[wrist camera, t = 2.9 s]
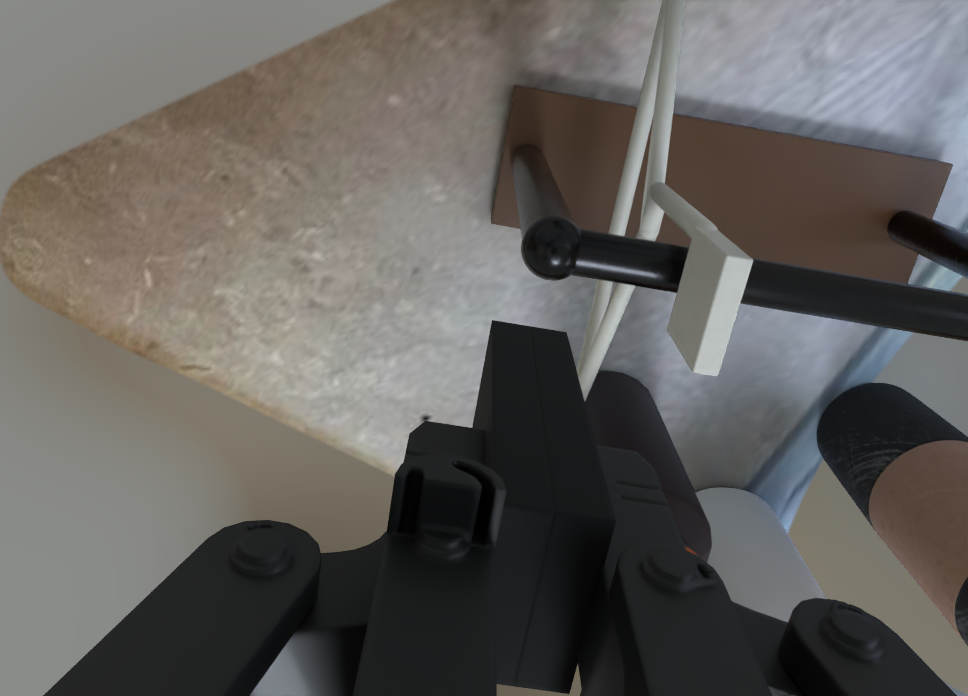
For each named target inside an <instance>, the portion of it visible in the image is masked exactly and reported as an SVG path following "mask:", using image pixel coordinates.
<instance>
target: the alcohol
mask: <svg viewBox="0 0 968 696" xmlns="http://www.w3.org/2000/svg"><path fill="white" fill-rule="evenodd" d="M695 493H696V495H697V498H698V500H699V502H700V504H701V506H702V509H703V511H704V513H705V515H706V518H707V520H708V522H709V524H710V528H711V539H712V548H711V551H710V555H709V558H708V562H707V563H708V564H709V565H710V566H712V567H713V568H714V569H715V571H716V572H717V573H718V575H719V576H720V578H721V579H722V581H723V582H724V585H725V587H726V589H727V592H728V594H729V596H730V599H731V601H733V602H735V603H737V604H740V605H742V606H744V607H747V608H749V609H751V610H754V611H757V612H760V613H763V614H765V615H768V616H771V617H774V618H777V619H779V620H782V621H785V622H788V621H789V619H790V616H791V613H792V611H793V609H794V608H795V607H796V606H797V605H798V604H799V603H800V602H801V601H803V600H808V599H813V598H822V599H826V597H825V596H824V594H823V592H822V591H821V589H820V587H819V586H818V584H817V582H816V581H815V579H814V577H813V576H812V574H811V572H810V571H809V569H808V568H807V566H806V564H805V562H804V561H803V559H802V557H801V556H800V554H799V552H798V550H797V549H796V547H795V545H794V544H793V542H792V541H791V539H790V537H789V535H788V534H787V532H786V530H785V529H784V527H783V525H782V524H781V522H780V520H779V519H778V517H777V515H776V514H775V512H774V511H773V509H772V508H771V507H770V506H769V504H768V503H766V502H765V501H764V500H763V499H761V498H760V497H758V496H756V495H754V494H752V493H750V492H748V491H744V490H741V489H735V488H725V487H717V488H708V489H704V490H700V491H698V492H695Z"/></svg>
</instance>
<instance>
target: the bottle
mask: <svg viewBox="0 0 968 696" xmlns="http://www.w3.org/2000/svg"><path fill="white" fill-rule="evenodd" d="M585 405H586V408H587V412H588V416H589V420H590V424H591V427H592V431H593V435H594V439H595V443H596V445H599V446H605V447H612V448H618V449H625V450H631V451H637V452H638V453H639V454H640V455H641V456H642V457H643V458H644V459H645V460H646V461H647V462H648V463H649V464H650V465H651V466H652V467H653V468H654V469H655V471H656V474H657V476H658V479H659V482H660V484H661V487H662V489H661V491H663V492H664V494H665V497H666V500H667V502H668V503H667V506H669V507H670V510H671V513H672V515H673V518H674V520H675V523H676V526H677V528H678V531H679V533H680V536H681V538H682V541H683V544H684V546H685V549H686V550H687V551H689V552H691V553H693V554H695V555H697V556H699V557H700V558H702V559H703V560H704V561H705V562H708V558H709V555H710V551H711V548H712V539H711V528H710V524H709V522H708V520H707V518H706V515H705V513H704V511H703V509H702V506H701V504H700V502H699V500H698V498H697V495H696V493H695V491H694V489H693V486H692V484H691V482H690V480H689V478H688V475H687V473H686V471H685V469H684V466H683V464H682V462H681V460H680V458H679V455H678V453H677V451H676V449H675V446H674V444H673V442H672V440H671V438H670V435H669V433H668V431H667V429H666V426H665V424H664V422H663V420H662V418H661V415H660V413H659V411H658V409H657V406H656V404H655V402H654V400H653V398H652V396H651V394H650V392H649V390H648V389H647V388H646V387H644V386H643V385H642V384H641V383H640V382H639V381H638V380H637V379H634V378H632V377H630V376H628V375H626V374H623V373H617V372H609V371H606V372H600V373H597V375H596V377H595V380H594V382H593V384H592V387H591V389H590V391H589V393H588V396H587V398H586V400H585Z"/></svg>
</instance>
